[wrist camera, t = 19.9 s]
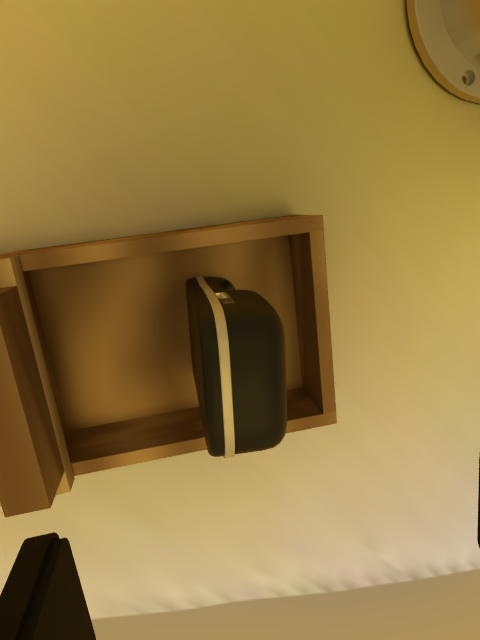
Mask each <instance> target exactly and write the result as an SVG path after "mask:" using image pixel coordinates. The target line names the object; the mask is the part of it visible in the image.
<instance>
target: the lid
mask: <svg viewBox="0 0 480 640" xmlns="http://www.w3.org/2000/svg"><path fill="white" fill-rule="evenodd" d="M74 479H75V478H74V475H73V471H72V467H71V463H70V459H69V455H68V451H67V447H66V443H65V439H64V435H63V431H62V427H61V423H60V419H59V415H58V411H57V407H56V403H55V399H54V396H53V392H52V388H51V384H50V380H49V376H48V372H47V368H46V364H45V360H44V356H43V352H42V348H41V344H40V340H39V336H38V332H37V328H36V324H35V320H34V317H33V313H32V309H31V305H30V301H29V297H28V293H27V289H26V285H25V281H24V277H23V273H22V269H21V265H20V261H19V257H18V256H13V257H5V258H0V506H2V509H3V512H4V515H5V517H9V516H14V515H19V514H23V513H28V512H33V511H38V510H43V509H47V508H51V505H52V503H53V500H54V497H55V495H57V494H62V493H67V492H70V491H71V488H72V485H73V482H74Z"/></svg>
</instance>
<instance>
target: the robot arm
mask: <svg viewBox="0 0 480 640" xmlns="http://www.w3.org/2000/svg"><path fill="white" fill-rule="evenodd" d="M407 12H408V19H409V27H410V31H411V34H412V37H413V40H414V44H415V47H416V49H417V51H418V53H419V55H420V57H421V59H422V61H423V63H424V65H425V67H426V68H427V69H428V71H429V72H430V73H431V74H432V76H433V77H434V78H435V80H436V81H437V82H438V83H440V84H441V85H442V86H443V87H444V88H445V89H447V90H448V91H449V92H450V93H452V94H454V95H456V96H458V97H460V98H462V99H464V100H467V101H470V102H474V103H478V104H480V0H407ZM478 544H479V548H480V459H479V500H478ZM0 640H96V637H95V633H94V630H93V626H92V622H91V619H90V615H89V611H88V608H87V604H86V601H85V597H84V594H83V590H82V586H81V583H80V579H79V576H78V572H77V569H76V565H75V561H74V558H73V554H72V551H71V547H70V544H69V541H68V539H67V538H62V539H60V538H59V536H58V534H57V533H50V534H45V535H41V536H36V537H31V538H27V539H26V540H25V541H24V542H23V544H22V546H21V549H20V551H19V553H18V556H17V558H16V560H15V563H14V565H13V567H12V570H11V572H10V574H9V577H8V579H7V581H6V584H5V586H4V588H3V591H2V593H1V595H0Z"/></svg>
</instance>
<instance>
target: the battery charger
mask: <svg viewBox="0 0 480 640" xmlns="http://www.w3.org/2000/svg"><path fill="white" fill-rule="evenodd" d="M186 296H187V308H188V320H189V332H190V344H191V356H192V368H193V375H194V380H195V386H196V391H197V397H198V403H199V409H200V414H201V420H202V425H203V430H204V436H205V441H206V446H207V450H208V453H209V454H210V455H211V456H214V457H219V456H223V457H224V458H227V457H233V456H234V454H240V453H247V452H254V451H261V450H266V449H270V448H273V447H275V446H276V445H278V444H279V443H280V442H281V440H282V439H283V437H284V436H285V433H286V429H287V384H286V352H285V333H284V327H283V324H282V321H281V319H280V317H279V315H278V313H277V312H276V310H275V309H274V308H273V307H272V306H271V304H270V303H269V302H268V301H267V300H265V299H264V298H263V297H262V296H261V295H259V294H258V293H257V292H254V291H251V290H236V289H235V287H234V285H233V284H232V283H231V282H230V281H228V280H226V279H224V278H218V277H203V276H196V278H191V279H188V280H187V281H186Z"/></svg>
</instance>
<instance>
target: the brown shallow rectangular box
mask: <svg viewBox="0 0 480 640" xmlns="http://www.w3.org/2000/svg"><path fill="white" fill-rule="evenodd" d="M13 256H18V257H19V261H20V265H21V269H22V273H23V277H24V281H25V285H26V289H27V293H28V297H29V301H30V305H31V309H32V313H33V317H34V320H35V324H36V328H37V332H38V336H39V340H40V344H41V348H42V352H43V356H44V360H45V364H46V368H47V372H48V376H49V380H50V384H51V388H52V392H53V396H54V399H55V403H56V407H57V411H58V415H59V419H60V423H61V427H62V431H63V435H64V439H65V443H66V447H67V451H68V455H69V459H70V463H71V467H72V471H73V475H74V476H76V475H81V474H86V473H91V472H96V471H101V470H106V469H111V468H116V467H121V466H126V465H131V464H136V463H141V462H146V461H151V460H156V459H161V458H166V457H171V456H176V455H181V454H186V453H191V452H196V451H201V450H206V449H207V446H206V441H205V436H204V430H203V425H202V420H201V414H200V409H199V403H198V397H197V391H196V386H195V380H194V375H193V368H192V356H191V344H190V332H189V320H188V308H187V296H186V281H187V280H188V279H191V278H196V276H203V277H218V278H224V279H226V280H228V281H230V282H231V283H232V284H233V285H234V287H235V289H236V290H251V291H254V292H257V293H258V294H259V295H261V296H262V297H263V298H264V299H265V300H267V301H268V302H269V303H270V304H271V306H272V307H273V308H274V309H275V310H276V312H277V313H278V315H279V317H280V319H281V321H282V324H283V327H284V333H285V352H286V384H287V429H286V433H290V432H295V431H300V430H305V429H310V428H315V427H320V426H325V425H330V424H335V423H337V419H336V404H335V390H334V375H333V360H332V346H331V331H330V316H329V302H328V287H327V272H326V258H325V243H324V229H323V215H291V216H284V217H276V218H268V219H261V220H253V221H245V222H238V223H230V224H222V225H215V226H207V227H199V228H192V229H184V230H176V231H169V232H161V233H153V234H146V235H138V236H130V237H123V238H115V239H107V240H100V241H92V242H84V243H77V244H69V245H61V246H54V247H46V248H38V249H31V250H23V251H15V252H11V253H7V254H3V255H0V258H5V257H13Z"/></svg>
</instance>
